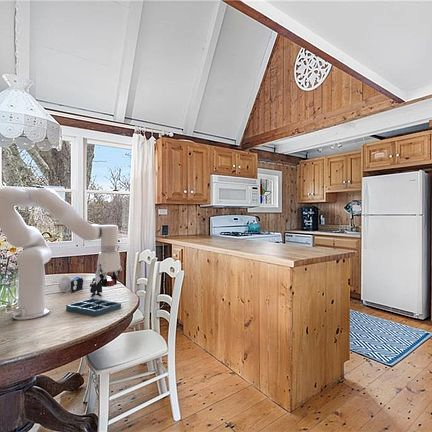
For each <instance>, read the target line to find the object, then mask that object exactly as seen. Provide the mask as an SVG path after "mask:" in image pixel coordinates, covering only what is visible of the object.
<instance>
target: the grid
mask: <svg viewBox="0 0 432 432" xmlns="http://www.w3.org/2000/svg"><path fill="white" fill-rule="evenodd" d="M120 309H122V302H117V301H111V300H107V299H106V300H105V299H100V298H94V297H91V298H88V299H84V300H81V301H77V302H74V303H69V304H66V305H65V311H66V312H70V313H71V312H72V313H77V314H81V315H86V316H90V317H94V318H95V317H98V316H102V315H105V314H108V313H112V312H114V311H117V310H120Z"/></svg>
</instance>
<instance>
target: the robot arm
mask: <svg viewBox="0 0 432 432" xmlns="http://www.w3.org/2000/svg"><path fill="white" fill-rule="evenodd" d="M27 207H32V208H33V207H39V208H41V209H42V210H44V211H45V212H47V213H48V214H50V215H51V216H52V217H54V218H55V219H57V220H58V221H59V222H60V223H61V224H62V225H63V226H64V227H66V229H68V230H69V231H71V232H72V233H73V234H75V235H76V236H77V237H79V238H81V239H82V240H84V241H87V242H90V241H95V240H99V239H100V252H99V253H98V256H97V262H96V271H95V272H94V274H95V275H98V276H99V277H100V278H101V285H102V288H108V287H107V279H108V278H107V277H108V273H111V276H110V279H114V286H115V285H116V286H117V284H118V276H119V274H120V273H121V272H122V271H123V267H122V265H121V256H120V251H119V249H120V245H119V226H118V225H117V224H94V223H93V224H92V223H90V222H88V221H87V220H86V219H84V218H83V217H82V216H81V215H80V214H79V213H78V212H77V211H76V208H75V206H73V205H71V203H69V202H67V201H66V200H64V199H63V198H62V197H60V194H59V193H58V192H57V191H55V190H54V189H51V188H48V187H39V188H35V189H33V188H31V189H29V188H28V189H27V188H23V189H22V188H15V187H3V188H1V189H0V230H1V232H2V234H3V235H4V237H5V239H7V242H8V243H9V244H10V246H12V247H15V248H21V249H22V251H20V252H19V254H18V256H17V259H16V265H17V272H18V287H17V288H18V289H17V290H18V291H17V293H18V294H17V307H15V308H14V309H13V310H12V311H11V310H10V311H7V312H4V317H5V318H7V317H12V318H13V319H14V320H19V321H21V320H32V319H37V318H41V317H45V316H46V315H48V314H49V313H50V310H49V309H47V308H46V307H45V306H46V301H45V300H46V269H45V264H47V263H49V261H51V259H52V256H53V253H52V252H53V251H52V249H51V247H50V246H49V245H48V243H47V241H46V239H45V237H44V236H43V235H42V233H41V232H40V230H39V229H37V228H36V227H34V226H31V225H27V223H26V222H25V221H24V219H23V217H22V215H21V214H20V213H19V211H17V209H16V208H27ZM100 272H101V273H100Z"/></svg>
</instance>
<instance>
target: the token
mask: <svg viewBox="0 0 432 432" xmlns="http://www.w3.org/2000/svg"><path fill="white" fill-rule="evenodd" d="M106 279H107V287H106V288H110V287H114V286H115V285H114V279H111V278H106Z"/></svg>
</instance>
